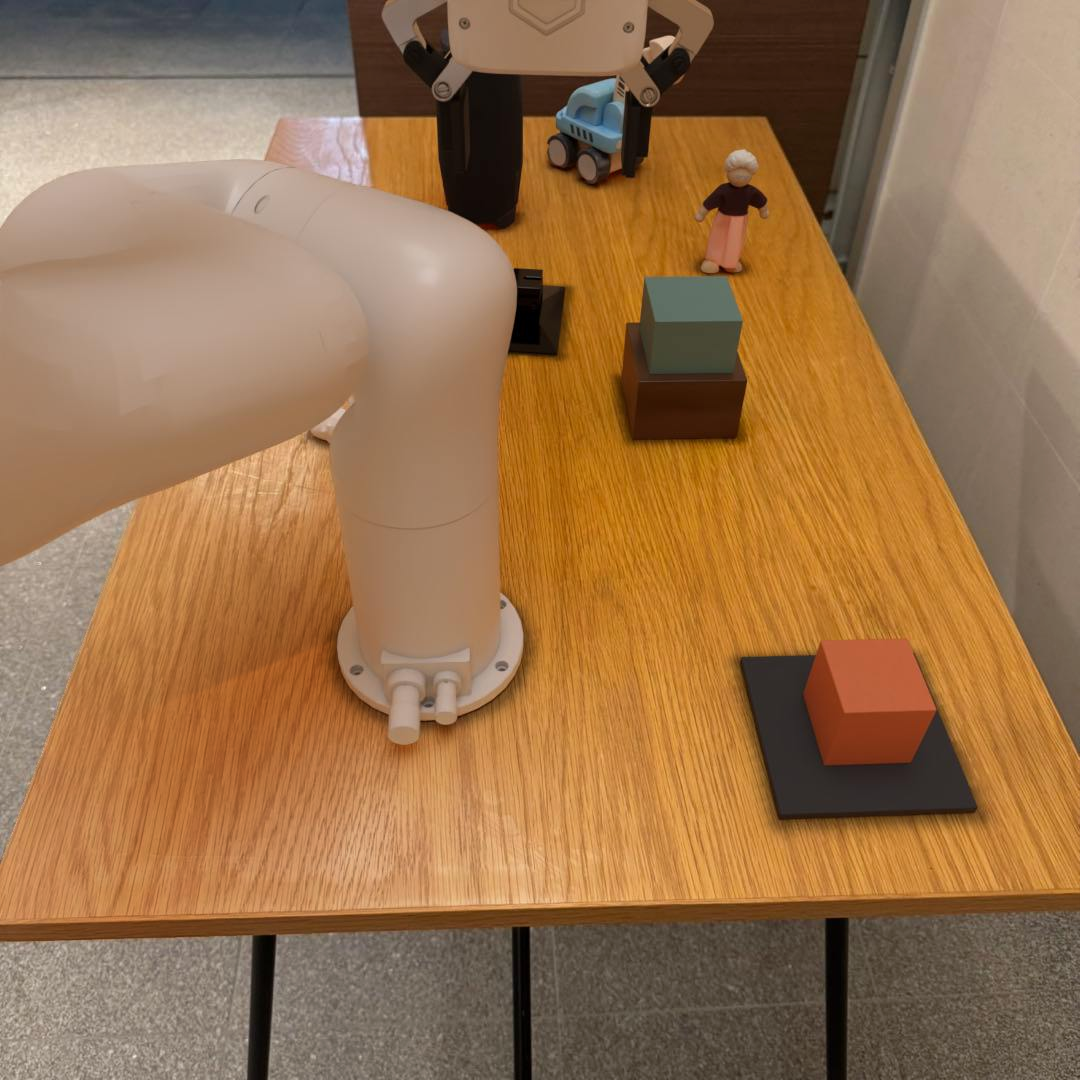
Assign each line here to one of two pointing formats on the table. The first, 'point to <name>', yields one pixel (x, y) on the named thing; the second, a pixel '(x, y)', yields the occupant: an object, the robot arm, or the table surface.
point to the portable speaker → (487, 149)
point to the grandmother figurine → (731, 213)
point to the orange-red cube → (867, 701)
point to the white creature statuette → (330, 423)
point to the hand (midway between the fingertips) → (544, 165)
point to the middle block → (689, 325)
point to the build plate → (536, 315)
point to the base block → (679, 398)
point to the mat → (843, 788)
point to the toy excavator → (596, 125)
